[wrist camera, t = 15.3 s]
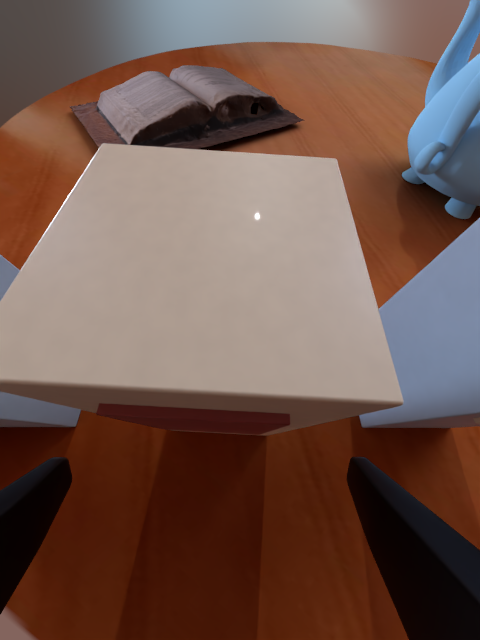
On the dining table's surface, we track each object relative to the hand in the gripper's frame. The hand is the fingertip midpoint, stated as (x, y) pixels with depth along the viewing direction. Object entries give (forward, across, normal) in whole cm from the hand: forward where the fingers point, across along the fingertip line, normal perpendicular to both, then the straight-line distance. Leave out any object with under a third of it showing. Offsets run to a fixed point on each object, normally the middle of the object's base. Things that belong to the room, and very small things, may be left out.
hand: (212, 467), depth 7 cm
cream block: (+8, 0, +2) cm, 8 cm away
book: (+36, +6, -25) cm, 44 cm away
